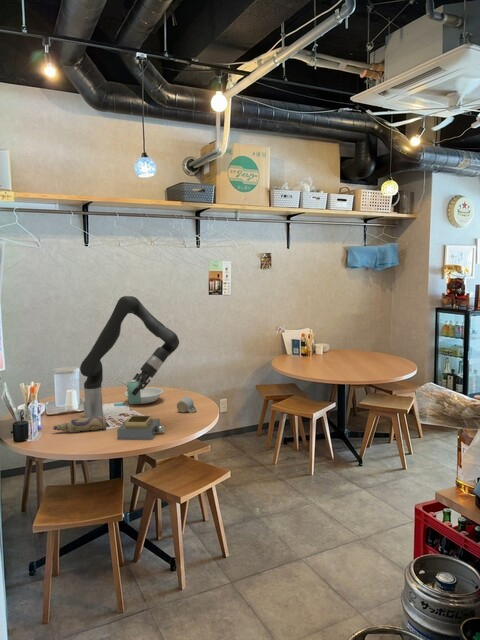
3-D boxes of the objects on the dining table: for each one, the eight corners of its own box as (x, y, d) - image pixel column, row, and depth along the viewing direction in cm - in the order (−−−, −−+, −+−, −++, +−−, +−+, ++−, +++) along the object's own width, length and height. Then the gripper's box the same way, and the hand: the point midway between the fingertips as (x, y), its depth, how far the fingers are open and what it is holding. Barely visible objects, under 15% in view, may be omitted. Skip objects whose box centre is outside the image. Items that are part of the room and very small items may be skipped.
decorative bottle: (106, 426, 245) (106, 413, 245) (106, 430, 238) (105, 418, 237) (54, 431, 239) (53, 418, 239) (52, 436, 232) (51, 423, 231)
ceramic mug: (175, 412, 266) (175, 399, 265) (182, 408, 274) (182, 395, 273) (192, 414, 262) (192, 401, 261) (198, 410, 270) (198, 397, 269)
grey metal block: (117, 439, 225) (116, 424, 224) (127, 428, 241) (127, 414, 240) (160, 439, 224) (159, 424, 223) (167, 428, 239) (167, 414, 239)
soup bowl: (171, 400, 292) (171, 389, 292) (144, 410, 272) (144, 399, 272) (143, 395, 305) (143, 385, 305) (115, 404, 285) (115, 394, 284)
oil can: (138, 399, 235) (136, 376, 234) (142, 402, 230) (141, 378, 229) (121, 403, 230) (119, 379, 229) (125, 405, 225) (123, 381, 224)
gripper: (141, 359, 239) (120, 386, 234) (152, 363, 227) (130, 391, 222) (151, 368, 242) (131, 394, 237) (163, 372, 230) (141, 400, 225)
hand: (130, 393), depth 229 cm, fingers closed on oil can, 6 cm apart
